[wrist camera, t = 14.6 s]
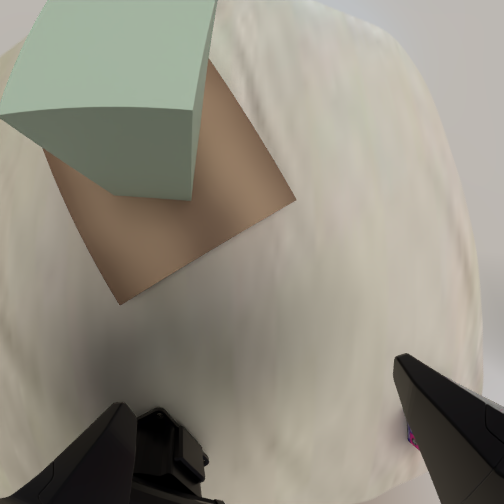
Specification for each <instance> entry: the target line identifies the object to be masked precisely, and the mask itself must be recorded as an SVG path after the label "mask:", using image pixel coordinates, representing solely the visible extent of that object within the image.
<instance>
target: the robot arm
mask: <svg viewBox="0 0 504 504" xmlns="http://www.w3.org/2000/svg"><path fill="white" fill-rule="evenodd" d="M393 378H394V382H395V385H396V388H397V391H398V394H399V397H400V401H401V404H402V407H403V410H404V413H405V417H406V419H407V422H408V424H409V427H410V429H411V431H412V433H413V436H414V438H415V440H416V443H417V445H418V447H419V450H420V452H421V454H422V457H423V459H424V461H425V464H426V466H427V469H428V471H429V473H430V476H431V479H432V481H433V484H434V486H435V489H436V491H437V494H438V496H439V499H440V502H441V504H504V413H502V412H500V411H499V410H497V409H495V408H494V407H492V406H491V405H489V404H486V403H485V402H484V401H482V400H481V399H479V398H478V397H476V396H474V395H473V394H471V393H470V392H468V391H467V390H465V389H463V388H462V387H460V386H459V385H457V384H455V383H454V382H452V381H451V380H449V379H448V378H446V377H444V376H443V375H441V374H440V373H438V372H436V371H435V370H433V369H432V368H430V367H429V366H427V365H425V364H424V363H422V362H421V361H419V360H417V359H416V358H414V357H413V356H411V355H410V354H407V353H404V354H401V355H398V356H396V357H395V359H394V369H393ZM158 413H161V414H163V416H159V415H157V414H158ZM203 460H205V461H203ZM208 464H209V458H208V457H207V456H206V455H205V454H204V453H203V452H202V447H201V446H200V445H199V444H198V442H197V441H196V440H195V439H194V438H193V437H192V436H191V435H190V434H189V433H188V432H187V430H186V429H185V428H184V427H182V426H178V424H177V423H176V422H175V421H174V420H173V419H172V418H171V416H170V415H169V414H168V413H167V412H166V411H165V410H164V409H163V408H156V409H154V410H152V411H150V412H148V413H146V414H144V415H142V416H140V417H138V418H136V416H135V415H134V413H133V412H132V411H131V409H130V408H129V407H128V405H127V404H126V403H124V402H115V403H113V404H112V405H111V406H110V407H109V408H108V409H107V410H106V411H105V412H104V413H103V414H102V415H101V416H100V417H99V418H98V419H97V420H95V421H94V422H93V423H92V424H91V425H90V426H89V427H88V428H87V429H86V430H85V431H84V432H83V433H82V434H81V435H80V436H79V437H78V438H77V439H76V440H75V441H74V442H73V443H72V444H70V445H69V446H68V447H67V448H66V449H65V450H64V451H63V452H62V453H61V454H60V455H59V456H58V457H57V458H56V459H55V460H54V461H53V462H51V463H50V464H49V465H48V466H47V467H46V468H45V469H44V470H43V471H42V472H41V473H40V474H38V475H37V476H36V477H35V478H33V479H32V480H31V481H30V482H28V483H27V484H26V485H24V486H23V487H22V488H20V489H19V490H18V491H17V492H15V493H14V494H12V495H11V496H9V497H6V498H0V504H225V503H224V502H223V501H221V500H217V499H214V500H211V499H206V498H202V495H201V486H200V483H201V482H204V480H205V472H204V466H206V465H208Z"/></svg>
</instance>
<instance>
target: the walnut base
mask: <svg viewBox="0 0 504 504" xmlns="http://www.w3.org/2000/svg"><path fill="white" fill-rule="evenodd" d="M43 151H44V153H45V156H46V158H47V161H48V164H49V166H50V169H51V171H52V174H53V176H54V178H55V181H56V183H57V186H58V188H59V190H60V193H61V195H62V197H63V199H64V202H65V204H66V206H67V208H68V210H69V212H70V215H71V217H72V219H73V221H74V223H75V225H76V227H77V229H78V231H79V233H80V235H81V237H82V239H83V241H84V243H85V245H86V247H87V249H88V251H89V252H90V254H91V256H92V258H93V260H94V262H95V264H96V265H97V267H98V269H99V271H100V273H101V274H102V276H103V278H104V280H105V281H106V283H107V285H108V287H109V288H110V290H111V292H112V293H113V295H114V297H115V298H116V300H117V302H118V303H119V305H122V304H123V303H125V302H127V301H128V300H130V299H131V298H133V297H135V296H136V295H138V294H139V293H141V292H143V291H144V290H146V289H148V288H149V287H151V286H152V285H154V284H156V283H157V282H159V281H161V280H162V279H164V278H166V277H167V276H169V275H170V274H172V273H174V272H175V271H177V270H179V269H180V268H182V267H184V266H185V265H187V264H189V263H190V262H192V261H194V260H195V259H197V258H199V257H200V256H202V255H204V254H205V253H207V252H209V251H210V250H212V249H214V248H215V247H217V246H219V245H220V244H222V243H224V242H225V241H227V240H229V239H230V238H232V237H234V236H235V235H237V234H239V233H241V232H242V231H244V230H246V229H247V228H249V227H251V226H252V225H254V224H256V223H258V222H259V221H261V220H263V219H264V218H266V217H268V216H270V215H271V214H273V213H275V212H277V211H278V210H280V209H282V208H283V207H285V206H287V205H289V204H290V203H292V202H294V201H296V198H295V196H294V194H293V193H292V191H291V189H290V187H289V186H288V184H287V182H286V180H285V179H284V177H283V175H282V173H281V172H280V170H279V168H278V167H277V165H276V163H275V162H274V160H273V158H272V157H271V155H270V153H269V152H268V150H267V148H266V147H265V145H264V143H263V142H262V140H261V138H260V137H259V135H258V133H257V132H256V130H255V129H254V127H253V125H252V124H251V122H250V121H249V119H248V117H247V116H246V114H245V113H244V111H243V109H242V108H241V106H240V105H239V103H238V102H237V100H236V99H235V97H234V95H233V94H232V92H231V91H230V89H229V88H228V86H227V85H226V83H225V82H224V80H223V79H222V77H221V76H220V74H219V73H218V71H217V70H216V68H215V67H214V65H213V64H212V62H211V61H210V60H209V58H208V65H207V73H206V81H205V89H204V97H203V106H202V115H201V125H200V132H199V140H198V147H197V155H196V163H195V171H194V180H193V189H192V198H191V201H186V200H174V199H160V198H146V197H131V196H115V195H113V194H111V193H110V192H108V191H107V190H105V189H104V188H102V187H101V186H99V185H97V184H96V183H94V182H93V181H91V180H90V179H88V178H87V177H85V176H84V175H82V174H81V173H79V172H78V171H76V170H75V169H73V168H72V167H70V166H69V165H67V164H66V163H64V162H63V161H61V160H60V159H58V158H57V157H55V156H54V155H53V154H51V153H50V152H48V151H47V150H45V149H44V148H43Z"/></svg>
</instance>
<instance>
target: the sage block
mask: <svg viewBox="0 0 504 504" xmlns="http://www.w3.org/2000/svg"><path fill="white" fill-rule="evenodd" d="M217 1H218V0H48V1H47V2H46V4H45V6H44V7H43V9H42V11H41V13H40V14H39V16H38V18H37V20H36V21H35V23H34V25H33V27H32V29H31V31H30V33H29V35H28V37H27V39H26V41H25V43H24V45H23V47H22V49H21V51H20V54H19V56H18V58H17V60H16V63H15V65H14V67H13V70H12V72H11V75H10V77H9V80H8V82H7V85H6V88H5V90H4V93H3V96H2V99H1V102H0V119H2V120H3V121H5V122H6V123H8V124H9V125H10V126H12V127H13V128H15V129H16V130H18V131H19V132H20V133H22V134H23V135H25V136H26V137H28V138H29V139H31V140H32V141H33V142H35V143H36V144H38V145H39V146H41V147H42V148H44V149H45V150H47V151H48V152H50V153H51V154H53V155H54V156H55V157H57V158H58V159H60V160H61V161H63V162H64V163H66V164H67V165H69V166H70V167H72V168H73V169H75V170H76V171H78V172H79V173H81V174H82V175H84V176H85V177H87V178H88V179H90V180H91V181H93V182H94V183H96V184H97V185H99V186H101V187H102V188H104V189H105V190H107V191H108V192H110V193H111V194H113V195H115V196H131V197H146V198H160V199H174V200H186V201H191V198H192V189H193V180H194V171H195V163H196V155H197V147H198V140H199V132H200V125H201V115H202V106H203V97H204V89H205V81H206V73H207V65H208V58H209V51H210V44H211V38H212V31H213V25H214V19H215V13H216V7H217Z"/></svg>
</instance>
